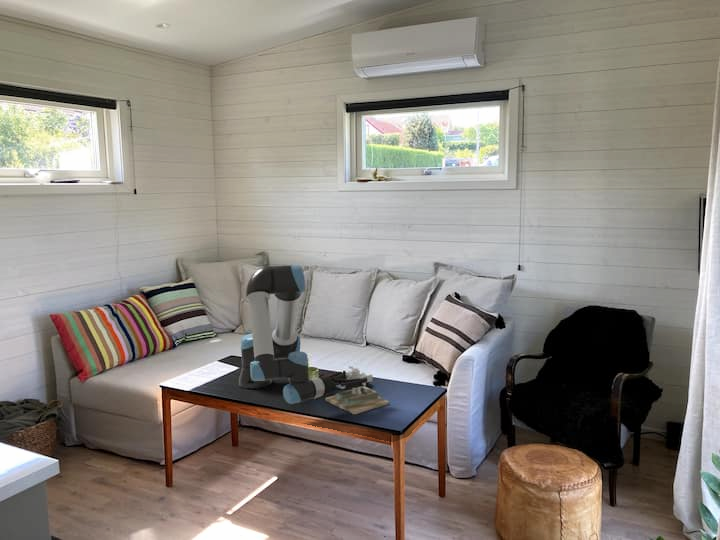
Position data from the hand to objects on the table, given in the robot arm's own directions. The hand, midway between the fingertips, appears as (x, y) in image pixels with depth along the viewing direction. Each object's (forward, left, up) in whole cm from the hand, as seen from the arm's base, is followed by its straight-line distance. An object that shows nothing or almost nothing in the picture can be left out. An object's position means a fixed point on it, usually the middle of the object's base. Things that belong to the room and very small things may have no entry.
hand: (365, 375), depth 249 cm
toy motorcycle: (-21, +2, -11) cm, 24 cm away
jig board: (0, -5, -11) cm, 12 cm away
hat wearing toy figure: (0, -5, -7) cm, 9 cm away
